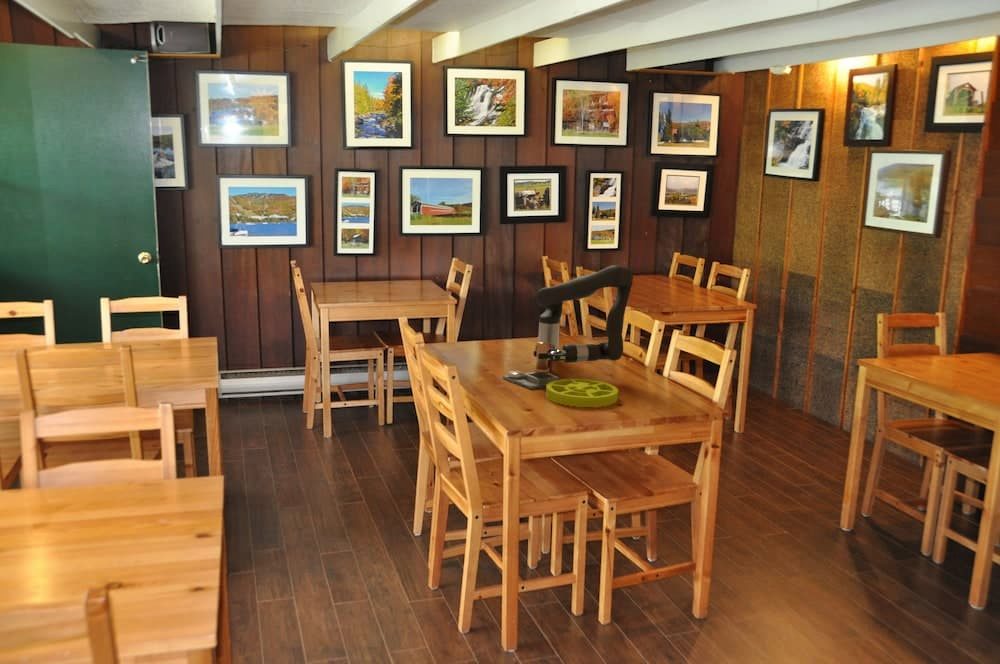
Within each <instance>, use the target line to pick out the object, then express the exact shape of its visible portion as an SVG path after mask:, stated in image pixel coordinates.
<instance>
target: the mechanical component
mask: <svg viewBox="0 0 1000 664" xmlns="http://www.w3.org/2000/svg"><path fill="white" fill-rule="evenodd" d="M549 348H555V345H553V344H550V343H549ZM534 351H537V343H536V344H535V350H534ZM534 351H533V356H534ZM534 357H535V358H536V356H534ZM553 362H554V361H553V360H552V361H551V360H550V359H549V360H548V368H549V372H552V371H553Z"/></svg>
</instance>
